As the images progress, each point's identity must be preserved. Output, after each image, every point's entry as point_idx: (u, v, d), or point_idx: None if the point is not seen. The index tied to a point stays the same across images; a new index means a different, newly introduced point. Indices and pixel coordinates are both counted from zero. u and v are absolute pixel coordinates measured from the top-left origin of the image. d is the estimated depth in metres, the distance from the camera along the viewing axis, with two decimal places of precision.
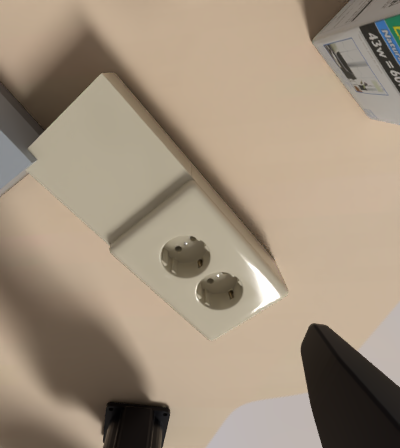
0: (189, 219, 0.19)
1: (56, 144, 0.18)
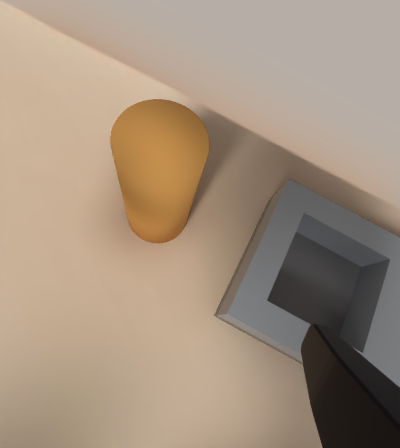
0: None
1: None
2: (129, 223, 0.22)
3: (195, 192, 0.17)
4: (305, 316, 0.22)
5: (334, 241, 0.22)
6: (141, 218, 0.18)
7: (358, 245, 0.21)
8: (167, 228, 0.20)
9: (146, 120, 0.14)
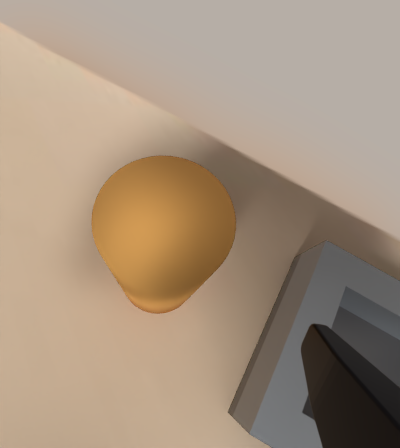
0: None
1: None
2: None
3: None
4: None
5: (381, 318, 0.17)
6: (136, 300, 0.14)
7: None
8: (170, 307, 0.15)
9: (145, 187, 0.10)
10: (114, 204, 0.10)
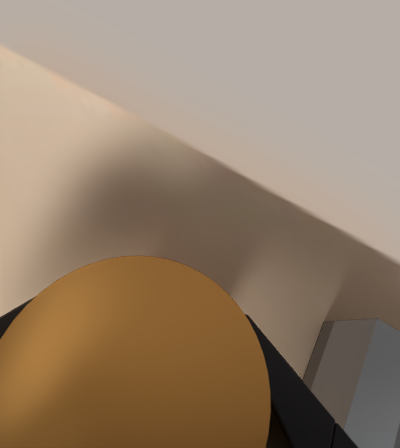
0: None
1: None
2: None
3: None
4: None
5: None
6: None
7: None
8: None
9: (94, 328, 0.05)
10: (26, 372, 0.05)
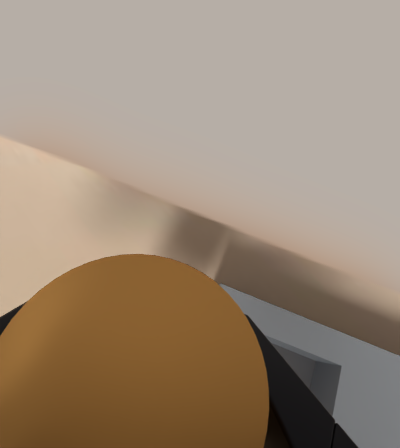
0: None
1: None
2: None
3: None
4: None
5: (280, 344, 0.19)
6: None
7: (306, 352, 0.18)
8: None
9: (92, 326, 0.05)
10: (25, 370, 0.05)
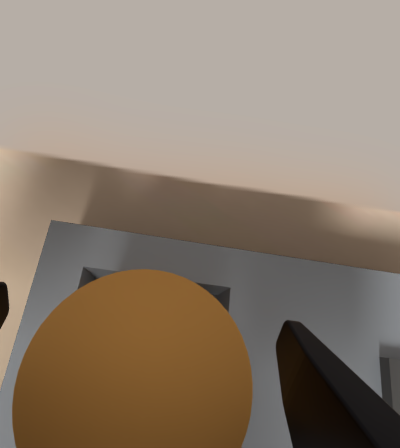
0: None
1: None
2: None
3: None
4: None
5: None
6: None
7: None
8: None
9: (107, 329, 0.06)
10: (53, 365, 0.06)
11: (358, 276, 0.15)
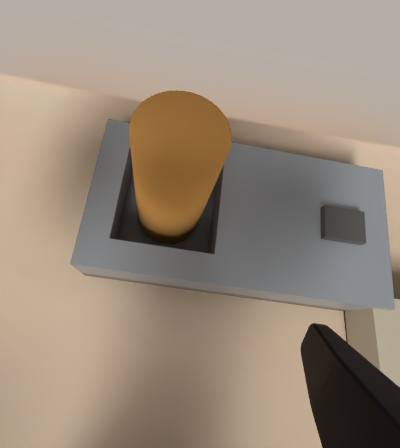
0: None
1: None
2: (139, 222, 0.22)
3: None
4: (171, 244, 0.22)
5: None
6: (154, 215, 0.17)
7: None
8: (180, 228, 0.19)
9: (166, 111, 0.14)
10: (144, 121, 0.13)
11: (309, 161, 0.22)
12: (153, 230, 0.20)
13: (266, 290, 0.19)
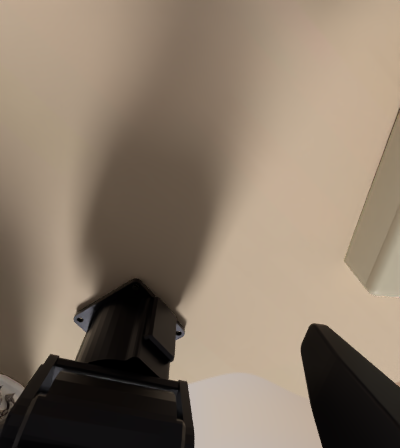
0: None
1: None
2: None
3: None
4: None
5: None
6: None
7: None
8: None
9: None
10: None
11: None
12: None
13: None
